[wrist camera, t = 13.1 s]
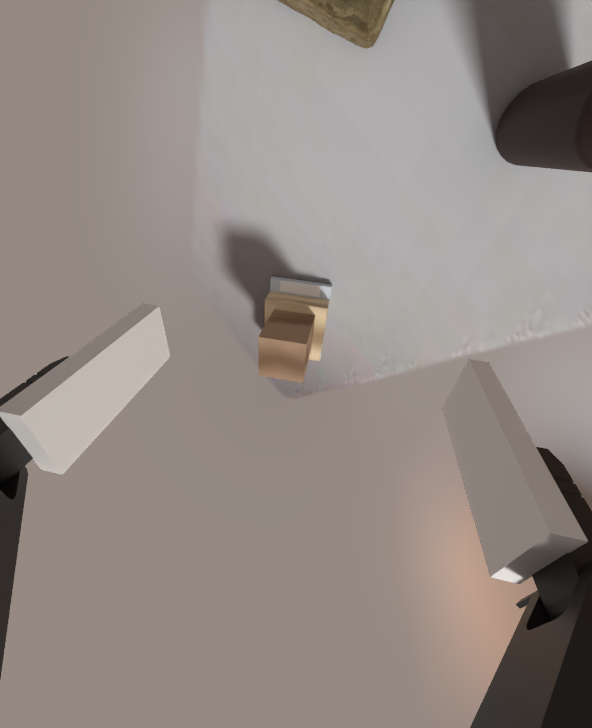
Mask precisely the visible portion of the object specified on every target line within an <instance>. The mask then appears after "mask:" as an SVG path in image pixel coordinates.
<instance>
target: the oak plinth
mask: <svg viewBox="0 0 592 728" xmlns="http://www.w3.org/2000/svg"><path fill="white" fill-rule="evenodd" d="M328 307H329V300H325V299H318V298H312V297H305V296H299V295H292V294H285V293H279V292H272V291H270V292H269V294H268V295H267V297H266V298H265V318H264V326H265V325H266V323H267V321H268V319H269V318H270V316H271V314H272V312H273V310H274V309H277V310H283V311H290V312H297V313H304V314H311V315H315V322H314V330H313V338H312V347H311V352H310V356H309V359H311V360H316V361H319V360H320V355H321V351H322V344H323V338H324V332H325V325H326V319H327V313H328Z"/></svg>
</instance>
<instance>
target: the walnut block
mask: <svg viewBox="0 0 592 728" xmlns="http://www.w3.org/2000/svg"><path fill="white" fill-rule="evenodd" d="M314 322H315V315H311V314H304V313H297V312H290V311H283V310H277V309H274V310H273V312H272V314H271V316H270V318H269V319H268V321H267V323H266V325H265V326H264V328H263V330H262V332H261V333H260V335H259V375H262V376H268V377H273V378H279V379H285V380H291V381H297V382H302V383H303V379H304V375H305V371H306V368H307V364H308V360H309V356H310V352H311V347H312V338H313V330H314Z"/></svg>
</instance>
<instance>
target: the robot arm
mask: <svg viewBox="0 0 592 728" xmlns="http://www.w3.org/2000/svg"><path fill="white" fill-rule="evenodd" d="M169 357H170V353H169V349H168V344H167V340H166V335H165V330H164V326H163V321H162V317H161V312H160V308H159V306H155V305H149V304H142V305H140V306H139V307H137V308H136V309H135V310H133V311H132V312H131V313H129V314H128V315H126V316H125V317H124V318H122V319H121V320H119V321H118V322H117V323H115V324H114V325H113V326H111V327H110V328H108V329H107V330H106V331H104V332H103V333H101V334H100V335H99V336H97V337H96V338H95V339H93V340H92V341H90V342H89V343H88V344H86V345H85V346H84V347H82V348H81V349H79V350H78V351H77V352H75V353H74V354H73V355H71V356H70V357H68V356H67V357H65V358H62V359H60V360H58V361H55V362H53V363H51V364H49V365H48V366H46V367H45V368H44V369H42V370H41V371H39V372H38V373H37V375H34V376H32V377H31V378H29V379H28V380H27V381H26V383H22V384H21V385H19V386H18V387H17V388H15V389H14V390H12V391H11V392H9V393H8V394H6V395H5V396H4V397H2V398H1V399H0V678H1V670H2V663H3V655H4V648H5V641H6V633H7V626H8V618H9V610H10V603H11V596H12V589H13V581H14V573H15V566H16V559H17V552H18V544H19V537H20V529H21V522H22V515H23V507H24V500H25V493H26V484H27V478H28V472H27V468H26V467H25V465H26V464H27V463H28V462H29V461H30V460H31V459H33V460H34V461H35V462H36V464H37V465H38V466H39V468H40V469H42V470H45V471H49V472H54V473H57V474H62V475H63V474H64V472H65V471H66V470H67V469H68V468H69V467H70V466H71V465H72V464H73V463H74V461H75V460H76V459H77V458H78V457H79V456H80V455H81V454H82V453H83V451H84V450H85V449H86V448H87V447H88V446H89V445H90V444H91V443H92V442H93V440H95V438H96V437H97V436H98V435H99V434H100V433H101V432H102V431H103V430H104V429H105V427H106V426H107V425H108V424H109V423H110V422H111V421H112V420H113V419H114V417H116V415H117V414H118V413H119V412H120V411H121V410H122V409H123V408H124V407H125V405H127V403H128V402H129V401H130V400H131V399H132V398H133V397H134V396H135V395H136V394H137V392H138V391H139V390H140V389H141V388H142V387H143V386H144V385H145V384H146V383H147V381H148V380H149V379H150V378H151V377H152V376H153V375H154V374H155V373H156V372H157V370H158V369H159V368H160V367H161V366H162V365H163V364H164V363H165V362H166V361H167V360H168V358H169ZM442 409H443V412H444V416H445V420H446V423H447V427H448V430H449V433H450V437H451V441H452V444H453V448H454V451H455V454H456V458H457V462H458V465H459V469H460V472H461V476H462V479H463V483H464V486H465V490H466V493H467V497H468V500H469V504H470V507H471V511H472V514H473V518H474V521H475V525H476V528H477V532H478V536H479V539H480V542H481V546H482V549H483V553H484V557H485V560H486V564H487V567H488V571H489V574H490V577H492V578H497V579H501V580H505V581H509V582H514V583H517V584H520V583H522V582H523V581H525V580H527V579H528V578H530V577H532V576H533V579H534V581H535V584H536V587H537V589H538V590H537V591H536V592H534V593H532V594H530V595H529V596H527V597H525V598H523V599H521V600H520V601H519V602H518V603H517V604H516V605H517V606H518V607H519V608H522V607H524V606H526V605H527V607H526V609H525V611H524V613H523V615H522V617H521V619H520V622H519V624H518V626H517V628H516V630H515V632H514V634H513V637H512V639H511V641H510V643H509V646H508V647H507V650H506V652H505V654H504V656H503V658H502V660H501V662H500V665H499V667H498V669H497V671H496V673H495V676H494V678H493V680H492V682H491V684H490V686H489V688H488V691H487V693H486V695H485V697H484V699H483V702H482V703H481V705H480V708H479V710H478V712H477V714H476V716H475V718H474V721H473V723H472V725H471V727H470V728H592V511H591V509H590V508H589V506H588V504H587V503H586V501H585V499H584V498H582V497H581V493H580V491H579V490H578V488H577V486H576V485H575V484H573V480H572V478H571V476H570V475H569V473H568V471H567V470H566V468H565V467H564V465H563V464H562V463H561V462H560V461H559V460H558V459H557V458H556V457H555V456H554V455H553V454H552V453H551V452H550V451H549V450H548V449H544V448H539V447H536V446H535V444H534V443H533V441H532V439H531V437H530V435H529V434H528V432H527V430H526V428H525V427H524V425H523V423H522V421H521V419H520V417H519V416H518V414H517V412H516V410H515V408H514V407H513V405H512V403H511V401H510V399H509V398H508V396H507V394H506V392H505V390H504V389H503V387H502V385H501V383H500V381H499V380H498V378H497V376H496V374H495V373H494V371H493V369H492V367H491V365H490V363H489V362H483V361H477V360H471V359H469V360H468V362H467V363H466V366H465V367H464V369H463V371H462V372H461V374H460V376H459V378H458V380H457V382H456V383H455V385H454V387H453V389H452V391H451V393H450V394H449V396H448V398H447V400H446V402H445V403H444V405H443V407H442Z"/></svg>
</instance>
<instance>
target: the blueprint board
mask: <svg viewBox="0 0 592 728" xmlns="http://www.w3.org/2000/svg"><path fill="white" fill-rule="evenodd" d="M331 289H332V285H330V284H324V283H317V282H310V281H303V280H296V279H290V278H283V277H276V276H272V277H271V281H270V291H272V292H279V293H285V294H292V295H299V296H305V297H312V298H318V299H325V300H329V301H330V295H331ZM328 308H329V307H328ZM327 314H328V313H327ZM326 320H327V319H326ZM325 327H326V325H325ZM324 333H325V332H324ZM323 339H324V338H323ZM322 345H323V344H322ZM321 352H322V351H321ZM320 358H321V355H320Z"/></svg>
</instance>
